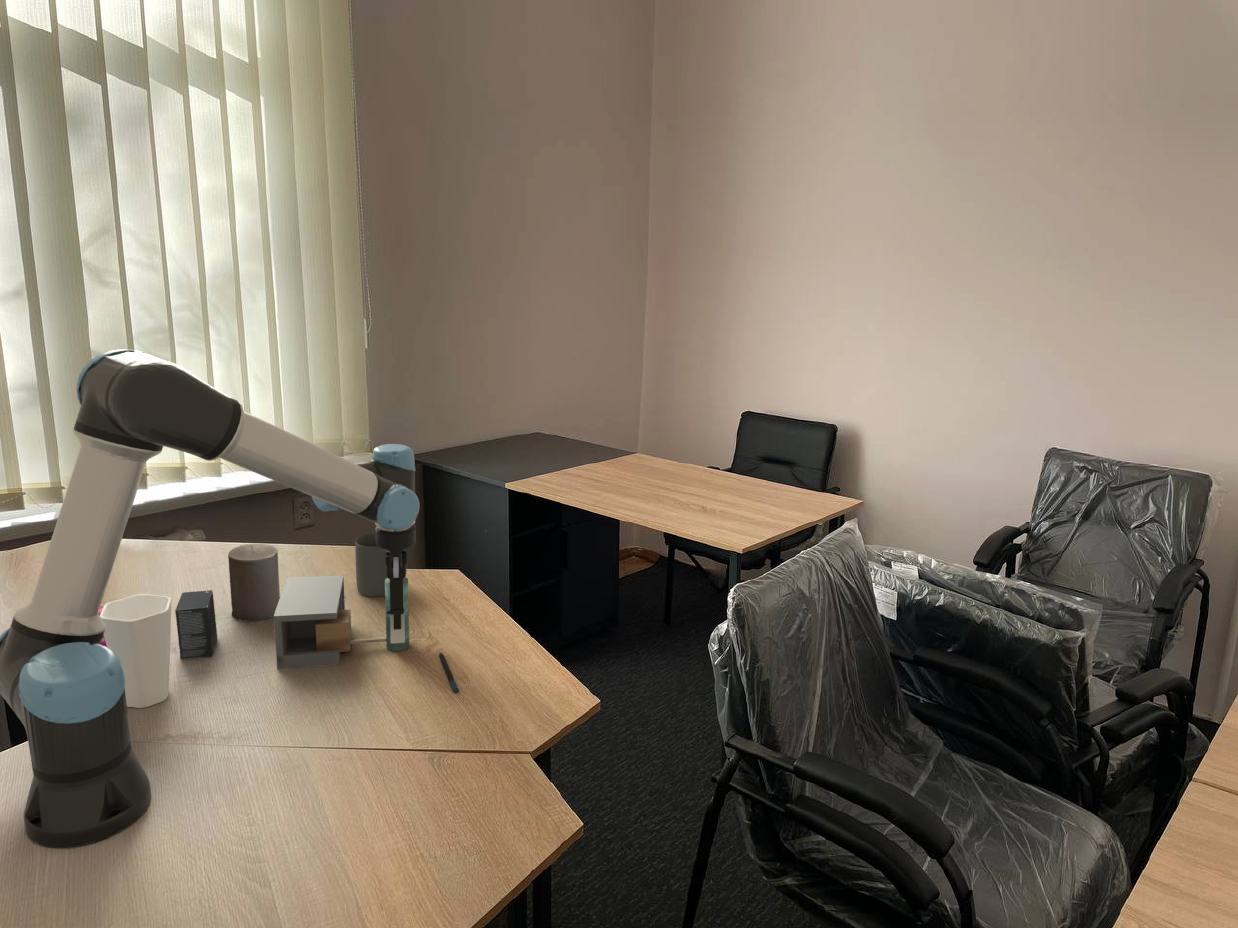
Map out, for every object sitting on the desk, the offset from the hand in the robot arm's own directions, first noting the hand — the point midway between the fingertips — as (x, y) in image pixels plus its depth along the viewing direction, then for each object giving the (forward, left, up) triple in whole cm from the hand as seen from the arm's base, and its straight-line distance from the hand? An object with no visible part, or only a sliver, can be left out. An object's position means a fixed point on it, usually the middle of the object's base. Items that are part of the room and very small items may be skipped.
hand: (397, 635), depth 172 cm
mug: (+27, +3, -2) cm, 27 cm away
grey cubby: (+3, +16, -2) cm, 17 cm away
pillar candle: (+20, +29, -2) cm, 36 cm away
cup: (-13, +42, -2) cm, 44 cm away
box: (+4, +37, -2) cm, 38 cm away
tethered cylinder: (0, +6, -2) cm, 7 cm away
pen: (-12, -9, -3) cm, 15 cm away
